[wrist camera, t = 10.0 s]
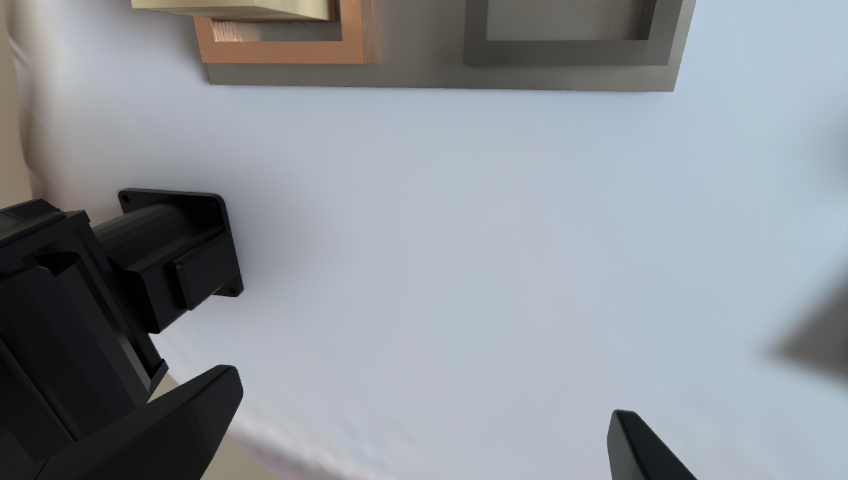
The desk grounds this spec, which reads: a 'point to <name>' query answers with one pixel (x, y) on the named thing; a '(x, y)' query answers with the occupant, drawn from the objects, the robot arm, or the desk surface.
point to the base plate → (459, 45)
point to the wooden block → (246, 9)
